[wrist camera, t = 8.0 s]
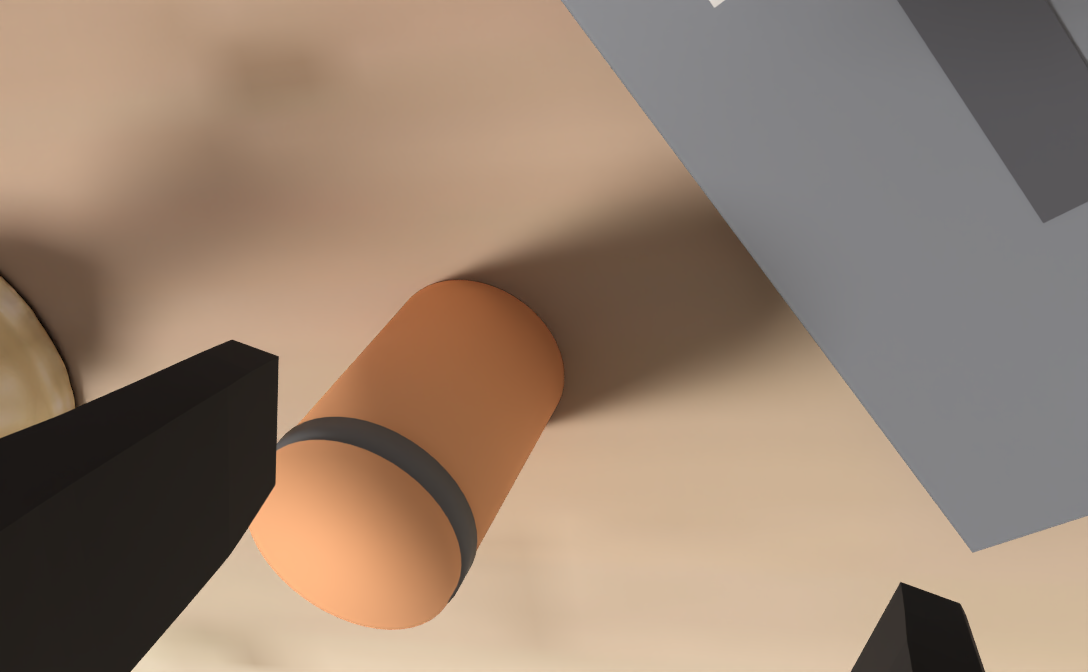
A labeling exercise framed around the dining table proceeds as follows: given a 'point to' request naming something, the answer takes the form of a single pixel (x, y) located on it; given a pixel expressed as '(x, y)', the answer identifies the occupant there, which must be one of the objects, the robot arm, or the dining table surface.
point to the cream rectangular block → (716, 2)
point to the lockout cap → (411, 456)
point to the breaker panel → (903, 213)
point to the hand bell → (28, 368)
